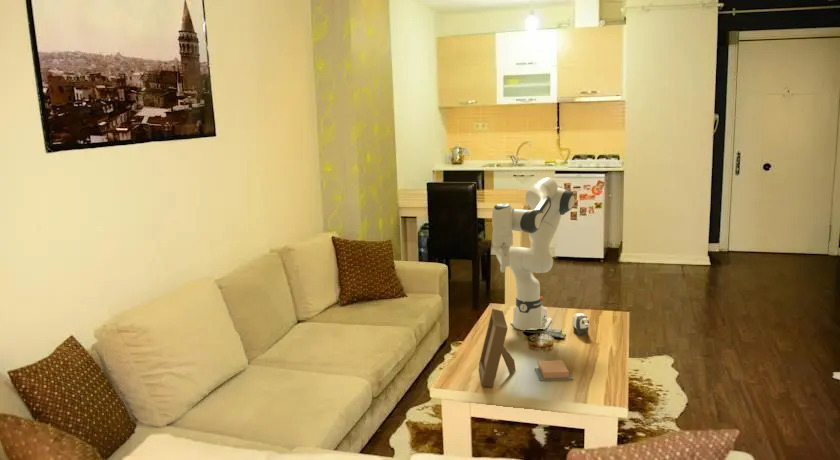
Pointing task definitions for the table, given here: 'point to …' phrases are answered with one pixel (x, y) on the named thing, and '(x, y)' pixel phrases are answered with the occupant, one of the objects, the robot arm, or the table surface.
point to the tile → (553, 369)
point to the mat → (551, 378)
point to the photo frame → (494, 349)
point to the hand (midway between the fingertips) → (502, 271)
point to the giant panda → (580, 323)
